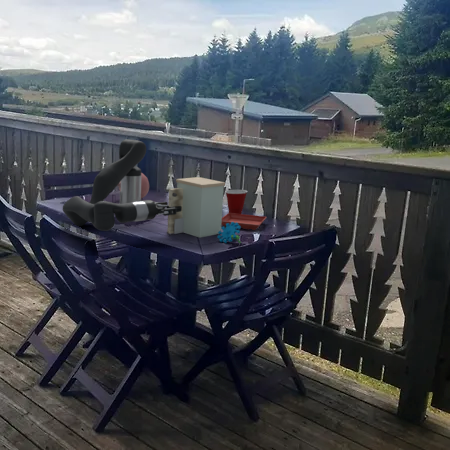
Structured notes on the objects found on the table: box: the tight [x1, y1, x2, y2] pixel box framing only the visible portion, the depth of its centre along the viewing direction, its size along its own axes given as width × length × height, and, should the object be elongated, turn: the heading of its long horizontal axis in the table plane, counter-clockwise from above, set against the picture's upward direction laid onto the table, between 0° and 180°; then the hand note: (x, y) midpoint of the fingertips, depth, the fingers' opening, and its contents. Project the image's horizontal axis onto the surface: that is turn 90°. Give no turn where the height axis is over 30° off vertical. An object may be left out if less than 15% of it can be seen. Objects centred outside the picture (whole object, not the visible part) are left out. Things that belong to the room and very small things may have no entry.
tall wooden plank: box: [167, 187, 183, 235], centre depth 214 cm, size 6×3×18 cm, turn 136°
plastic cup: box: [224, 189, 248, 214], centre depth 254 cm, size 11×11×12 cm
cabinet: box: [173, 176, 226, 238], centre depth 216 cm, size 17×15×21 cm
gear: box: [217, 222, 242, 244], centre depth 208 cm, size 11×6×10 cm
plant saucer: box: [221, 212, 267, 231], centre depth 237 cm, size 18×18×3 cm
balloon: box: [116, 172, 150, 200], centre depth 272 cm, size 15×20×15 cm
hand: (173, 206), depth 213 cm, fingers open, 8 cm apart
